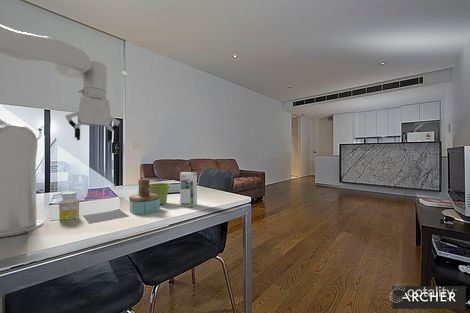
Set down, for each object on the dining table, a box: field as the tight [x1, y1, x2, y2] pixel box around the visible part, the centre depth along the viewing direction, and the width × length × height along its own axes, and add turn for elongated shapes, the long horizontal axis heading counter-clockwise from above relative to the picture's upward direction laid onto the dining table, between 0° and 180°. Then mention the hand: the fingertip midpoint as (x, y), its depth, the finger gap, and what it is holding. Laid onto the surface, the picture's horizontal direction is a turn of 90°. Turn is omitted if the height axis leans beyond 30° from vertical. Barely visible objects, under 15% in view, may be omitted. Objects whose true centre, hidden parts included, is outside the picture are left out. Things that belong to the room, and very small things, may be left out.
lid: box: [128, 178, 158, 202], centre depth 86 cm, size 10×10×8 cm
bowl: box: [129, 198, 161, 215], centre depth 86 cm, size 10×10×5 cm
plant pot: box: [149, 182, 171, 205], centre depth 100 cm, size 9×9×9 cm
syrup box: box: [179, 171, 198, 208], centre depth 96 cm, size 6×6×14 cm
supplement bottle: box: [58, 191, 80, 223], centre depth 75 cm, size 5×5×10 cm
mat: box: [82, 209, 130, 225], centre depth 79 cm, size 12×12×1 cm
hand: (93, 140), depth 83 cm, fingers open, 9 cm apart
